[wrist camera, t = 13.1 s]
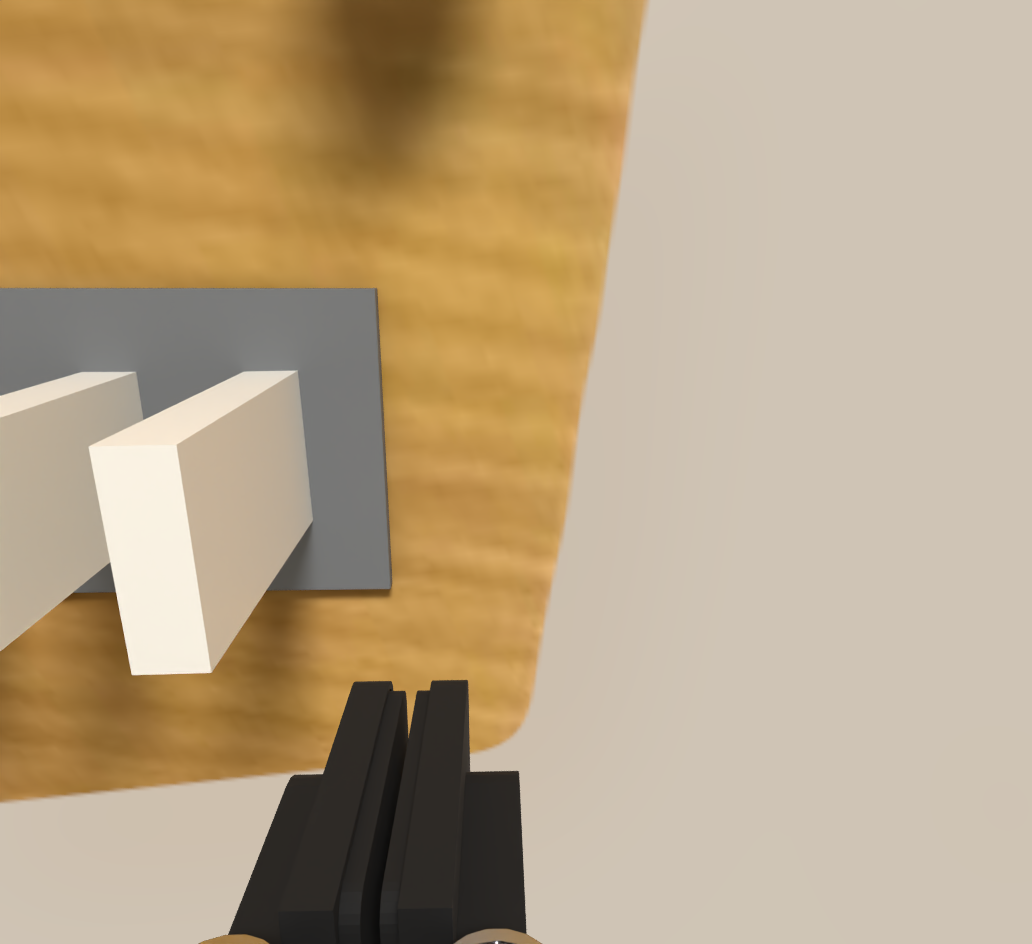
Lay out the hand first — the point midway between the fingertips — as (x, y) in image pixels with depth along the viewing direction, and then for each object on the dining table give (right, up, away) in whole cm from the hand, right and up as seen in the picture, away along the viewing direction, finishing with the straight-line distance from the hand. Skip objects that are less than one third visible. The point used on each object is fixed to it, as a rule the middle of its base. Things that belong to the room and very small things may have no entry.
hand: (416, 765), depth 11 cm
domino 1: (-14, +5, +17) cm, 23 cm away
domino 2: (-8, +5, +17) cm, 20 cm away
